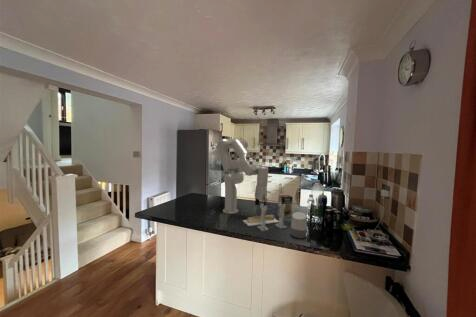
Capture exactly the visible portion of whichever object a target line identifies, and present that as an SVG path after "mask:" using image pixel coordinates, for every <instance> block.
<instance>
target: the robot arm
mask: <svg viewBox="0 0 476 317" xmlns="http://www.w3.org/2000/svg"><path fill="white" fill-rule="evenodd" d="M216 147H217V148H216V149H217V152H218V155H219V158H220V162H221V166H222V169H223V171H224V172H226V174H225V175H224V178H223V180H224V195H225V196H224V208H223V209H222V212H223V213H225V214H228V215H229V214H230V215H231V214H237V213H239V209H238V208H237V205H238V204H237V195H238V189H237V186H236V185H237V184H238V185H239V184H242V183H243V182H244V180H245V177H244V174H245V175H247V176H249V177H250V176H256V185H255V188H254V189H255V190H254V199H255V200H254V205H255V206H259V205H260V201H261V204H264V206H267V203H268V200H269V199H268V179H269V166H263V165H260V164H249V162H248V161H247V158H248V157H249V156H250V152H249V150H248V147H249V143H248V141H247V140H246V139H242V138H240V139H239V138H221V139H219V140H218V142H217V146H216ZM228 150H234V152H235V153H236V155H237V156H238V158H239V160H236V159H232V157H231V153H230V152H229V151H228Z"/></svg>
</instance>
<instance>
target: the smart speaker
mask: <svg viewBox="0 0 476 317" xmlns="http://www.w3.org/2000/svg"><path fill="white" fill-rule="evenodd" d="M307 219H308V216H307V214H306V213H304V212H300V211H296V212H294V213H293V212H292V217H291V223H290V234H291V236H292V237H293V238H295V239H300V240H302V239H304V238H306V237H307V235H308V220H307Z"/></svg>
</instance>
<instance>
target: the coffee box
mask: <svg viewBox="0 0 476 317" xmlns="http://www.w3.org/2000/svg"><path fill="white" fill-rule="evenodd" d="M293 198H294V197H293V196H291V195H289V194H287V195H286V194H284V195H278V199H277V200H278V202H282V204H286V206H285V209H284V218H283V219H289V218H292V214H293V200H294V199H293ZM278 202H277V203H278ZM279 213H280V207H278V206H277V216H278V217H279Z"/></svg>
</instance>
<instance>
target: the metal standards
mask: <svg viewBox="0 0 476 317" xmlns="http://www.w3.org/2000/svg"><path fill="white" fill-rule="evenodd" d="M259 205H260V206H259V207H260V209H261V215H260V216H261V225H256V226H257V229H258V230H259V231H261V232H264V231H269V228H268V227H267V226H266V224H265V216H266V215H267V213H266V212H267V211H268V205H266V206H264V204H262V203H259ZM285 206H286V204H282V202H277V208H278V207H280V213H279V216H278V221H279V222H276V223H275V226H276V227H278V228H279V229H285V228H288V226H287V225H286V224H285V223H284V219H285V218H284V209H285Z"/></svg>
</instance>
